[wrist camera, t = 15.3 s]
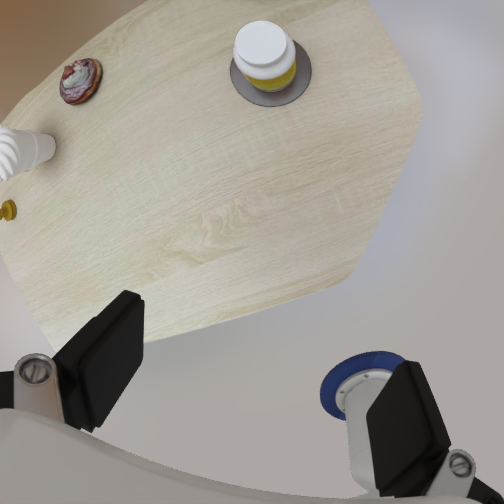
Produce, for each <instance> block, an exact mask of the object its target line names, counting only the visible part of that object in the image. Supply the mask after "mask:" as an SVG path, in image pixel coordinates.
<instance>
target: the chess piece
mask: <svg viewBox="0 0 504 504" xmlns="http://www.w3.org/2000/svg"><path fill="white" fill-rule="evenodd" d="M2 217H4V219H5V220H7V221H10V220H12V219H14V218H15V217H16V206H15V204H14V202H13V201H12V200H8V201H5V202H3V204H2V209H0V220H1V219H2Z"/></svg>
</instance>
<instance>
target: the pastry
mask: <svg viewBox="0 0 504 504" xmlns="http://www.w3.org/2000/svg"><path fill="white" fill-rule="evenodd" d="M64 69H65V70H64V72H63V76H62V78H61V81H60V95H61V97H62V98H63V99H64V101H65V102H66V103H67V104H70V105H73V106H74V105H77V104H80V103H82V102H85V101H86V100H88V99H89V98H90V97H91V96H92V95H93V94H94V93H95V91H96V90H97V88H98V85H99V83H100V80H101V77H102V70H101V66H100V64H99V63H98V62H97V61H96V60H94V59H90V58H87V59H83V60H79V61H75V62H74V63H71V64H70V65H69V66H66V67H64Z"/></svg>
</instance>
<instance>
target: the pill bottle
mask: <svg viewBox="0 0 504 504" xmlns="http://www.w3.org/2000/svg"><path fill="white" fill-rule="evenodd" d="M233 57H234V61H235V63H236V65H237V67H238V68H239V69H240V71H241V72H242V73H243V74H244V76H245V77H246V78H247V80H248V81H249V82H250V83H251V84H252V85H253V86H254V87H256V88H257V89H259V90H262V91H266V92H275V91H279V90H282V89H284V88H286V87H287V86H288V85H289V84H290V83H291V82H292V81H293V79H294V77H295V74H296V49H295V45H294V43H293V41H292V39H291V37H290V36H289V35H288V34H287V33H286V32H284V31H283V30H282V29H281V28H280V27H279V26H277V25H276V24H274V23H271V22H268V21H255V22H251V23H249V24H247V25H245V26H244V27H243V28H241V29H240V31H239V32H238V34H237V35H236V38H235V45H234V49H233Z"/></svg>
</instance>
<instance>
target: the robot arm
mask: <svg viewBox="0 0 504 504" xmlns="http://www.w3.org/2000/svg"><path fill="white" fill-rule="evenodd" d="M144 306H145V303H144V300H142V299H141V296H140V295H139V294H137V293H134V292H131V291H128V290H124V291H123V292H122V293H120V294H119V295H118V296H117V297H116V298H115V299H114V300H113V301H112V302H111V303H110V304H109V305H108V306H107V307H106V308H105V309H104V310H103V311H102V312H101V313H100V314H99V315H98V316H97V317H93V318H92V319H91V320H90V321H89V322H88V323H87V324H86V325H85V326H83V327H82V328H81V329H80V330H79V331H78V332H77V333H76V334H75V335H74V336H73V337H72V338H71V339H70V340H69V341H68V342H67V343H66V344H65V345H64V346H63V347H62V348H61V349H60V351H59V352H58V353H57V354H56V355H55V356H54V357H53V358H52V359H51V358H50V357H48V356H46V355H43V354H38V353H34V354H28V355H26V356H24V357H22V358H21V359H20V360H18V362H17V364H16V365H15V369H14V371H6V372H0V504H504V499H503V498H502V496H501V495H500V494H499V493H497V492H496V491H495V490H493V489H492V488H490V487H489V486H487V485H486V484H485V483H483V482H482V481H480V480H479V479H477V478H476V477H475V472H476V465H475V462H474V459H473V458H472V457H471V455H470V454H468V453H467V452H465V451H463V450H460V449H455V450H452V451H450V452H449V449H448V448H449V447H450V446H451V441H450V439H449V436H448V433H447V430H446V427H445V425H444V422H443V419H442V417H441V414H440V411H439V409H438V406H437V404H436V401H435V399H434V396H433V394H432V391H431V389H430V386H429V384H428V382H427V379H426V377H425V375H424V372H423V370H422V368H421V365H420V364H419V363H418V362H413V361H408V360H405V361H403V362H402V363H400V364H398V365H397V367H396V368H395V370H394V371H393V372H391V371H389V370H386V369H381V368H373V369H367V370H363V371H360V372H357V373H355V374H353V375H351V376H350V377H348V378H347V379H346V380H344V381H343V382H342V383H341V384H340V386H339V387H338V389H337V391H336V396H335V399H336V404H337V407H338V408H339V409H340V410H341V411H342V412H344V413H345V415H346V424H347V433H348V445H349V457H350V469H351V474H352V476H353V478H354V480H355V481H356V482H357V483H358V484H359V485H360V486H361V487H363V488H364V489H366V490H367V491H369V493H367V494H364V495H360V496H358V497H354V498H349V499H338V498H320V497H308V496H297V495H289V494H281V493H274V492H268V491H262V490H256V489H251V488H245V487H240V486H235V485H231V484H227V483H223V482H218V481H214V480H210V479H207V478H203V477H199V476H195V475H192V474H189V473H185V472H182V471H179V470H176V469H173V468H170V467H167V466H164V465H161V464H158V463H155V462H153V461H150V460H147V459H144V458H142V457H140V456H137V455H135V454H132V453H129V452H127V451H124V450H122V449H120V448H117V447H115V446H113V445H110V444H108V443H106V442H104V441H102V440H99V439H97V438H95V437H93V436H91V435H89V434H86V433H84V432H82V431H80V429H81V428H83V429H85V430H87V431H89V432H90V433H92V432H93V430H94V428H95V427H98V428H99V427H101V425H102V424H103V422H104V421H105V419H106V418H107V416H108V414H109V413H110V411H111V410H112V408H113V407H114V405H115V403H116V402H117V400H118V399H119V397H120V396H121V394H122V392H123V391H124V389H125V388H126V386H127V385H128V383H129V382H130V380H131V378H132V377H133V376H134V374H135V372H136V371H137V369H138V367H139V366H140V365H141V363H142V360H143V337H144Z"/></svg>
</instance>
